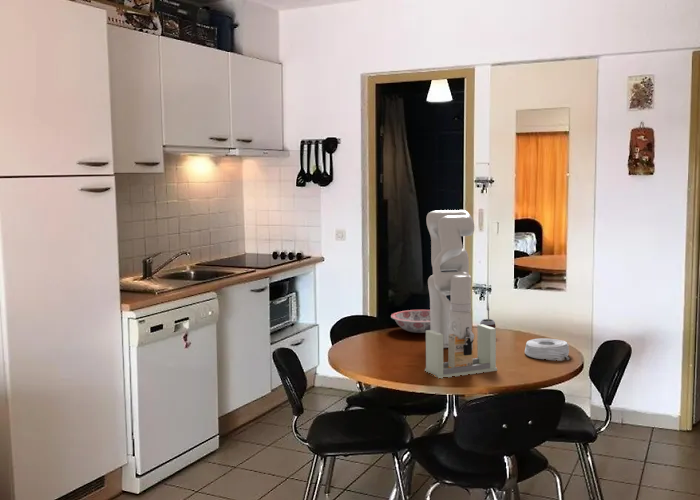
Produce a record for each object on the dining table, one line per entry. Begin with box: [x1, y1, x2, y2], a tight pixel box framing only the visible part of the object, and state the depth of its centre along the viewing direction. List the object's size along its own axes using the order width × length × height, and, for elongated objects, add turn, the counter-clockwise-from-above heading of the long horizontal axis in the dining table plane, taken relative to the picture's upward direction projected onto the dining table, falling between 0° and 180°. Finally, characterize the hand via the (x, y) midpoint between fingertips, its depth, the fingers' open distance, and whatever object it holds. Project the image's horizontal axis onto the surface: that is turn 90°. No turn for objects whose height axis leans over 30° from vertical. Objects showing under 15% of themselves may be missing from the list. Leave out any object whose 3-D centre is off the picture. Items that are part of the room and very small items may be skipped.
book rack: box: [424, 323, 498, 379], centre depth 274 cm, size 11×25×16 cm, turn 112°
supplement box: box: [447, 334, 474, 368], centre depth 274 cm, size 8×5×13 cm, turn 113°
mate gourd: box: [479, 302, 497, 328], centre depth 330 cm, size 8×8×15 cm
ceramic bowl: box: [390, 309, 430, 334], centre depth 344 cm, size 29×29×8 cm
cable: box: [524, 337, 570, 362], centre depth 295 cm, size 18×18×6 cm
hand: (460, 352), depth 274 cm, fingers open, 9 cm apart
